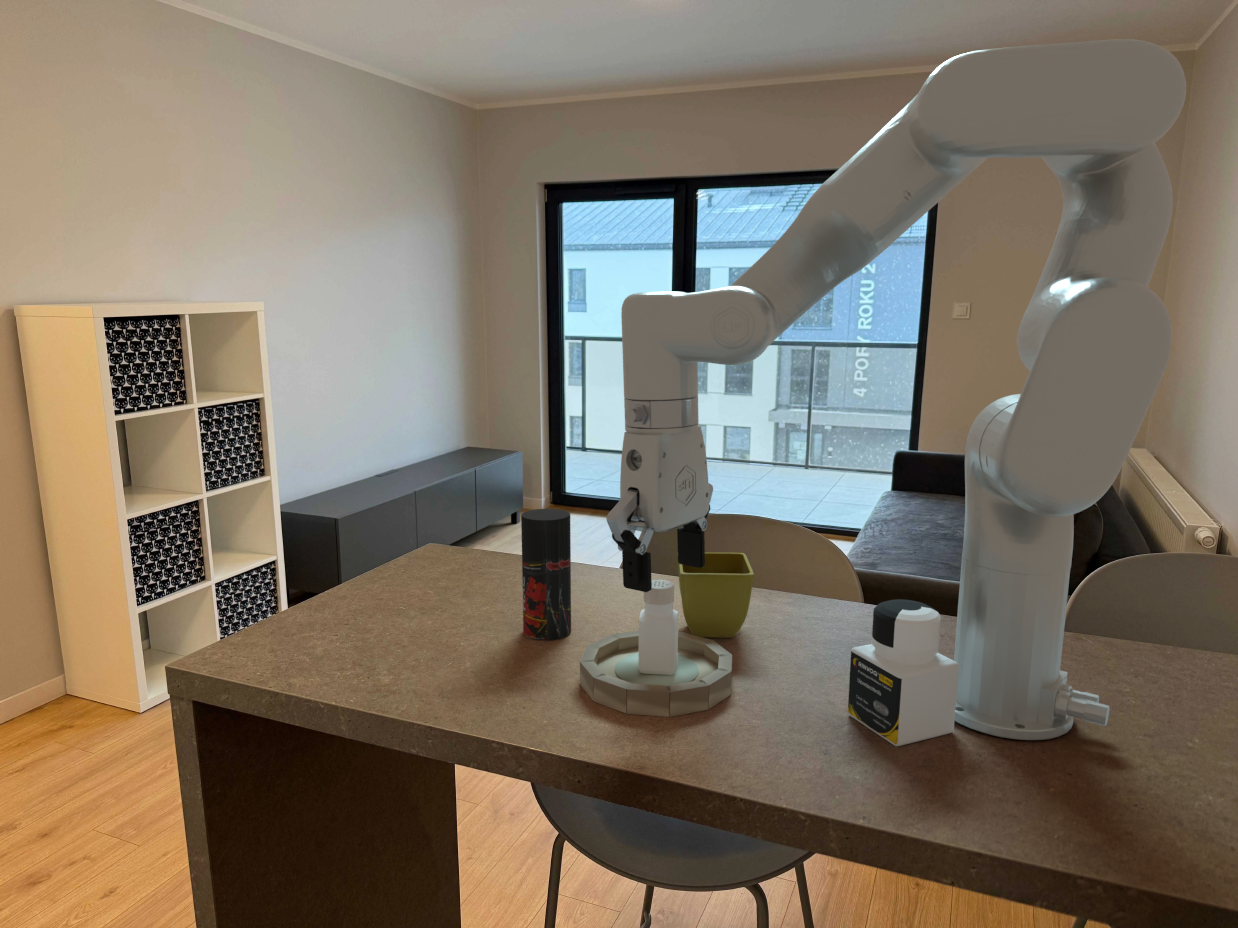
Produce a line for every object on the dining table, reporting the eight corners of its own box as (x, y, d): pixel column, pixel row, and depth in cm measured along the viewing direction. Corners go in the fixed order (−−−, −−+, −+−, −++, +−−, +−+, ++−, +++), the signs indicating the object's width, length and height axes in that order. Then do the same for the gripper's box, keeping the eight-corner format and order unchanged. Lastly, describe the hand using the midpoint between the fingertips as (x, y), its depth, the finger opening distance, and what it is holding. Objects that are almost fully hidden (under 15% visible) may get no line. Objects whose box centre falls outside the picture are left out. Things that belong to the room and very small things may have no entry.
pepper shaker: (677, 661, 92) (679, 578, 90) (675, 677, 88) (677, 590, 86) (641, 660, 93) (642, 577, 91) (637, 675, 89) (638, 589, 87)
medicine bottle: (846, 714, 83) (852, 599, 81) (902, 701, 86) (910, 589, 84) (895, 748, 77) (904, 623, 75) (955, 733, 80) (965, 612, 77)
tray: (758, 675, 92) (759, 653, 91) (675, 731, 80) (675, 706, 79) (641, 640, 102) (642, 620, 101) (551, 685, 89) (551, 662, 89)
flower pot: (752, 645, 100) (754, 573, 99) (679, 644, 101) (680, 572, 99) (743, 619, 109) (745, 552, 107) (675, 618, 109) (676, 551, 108)
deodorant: (580, 633, 104) (579, 515, 101) (537, 644, 101) (536, 522, 98) (556, 619, 109) (554, 506, 106) (514, 628, 105) (512, 512, 103)
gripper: (639, 427, 77) (644, 606, 79) (737, 408, 90) (738, 562, 93) (577, 423, 81) (584, 592, 84) (679, 405, 94) (682, 552, 97)
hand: (665, 576), depth 88 cm, fingers open, 9 cm apart
